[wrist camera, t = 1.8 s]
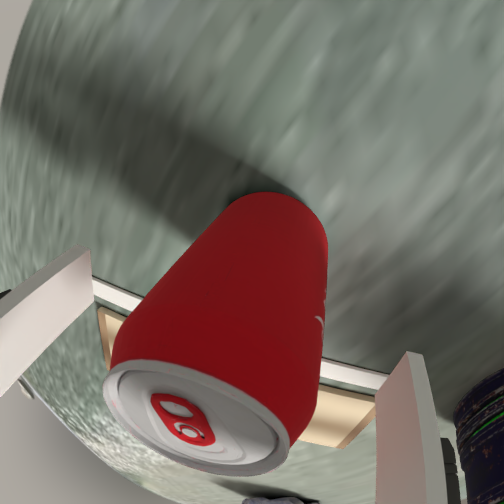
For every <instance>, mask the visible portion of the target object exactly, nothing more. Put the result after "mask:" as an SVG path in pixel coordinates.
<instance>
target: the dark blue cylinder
mask: <svg viewBox="0 0 504 504" xmlns="http://www.w3.org/2000/svg"><path fill="white" fill-rule="evenodd" d="M453 419H454V425H455V427H456V436H457V440H456V442H457V449H458V454H459V455H460V463H461V468H462V470H463V471H464V472H465V481H466V491H467V502H468V504H504V368H503V369H501V370H499V371H497V372H495V373H494V374H492V375H490V376H489V377H487V378H486V379H484V380H483V381H481V382H480V383H479V384H477V385H476V386H475V387H474V388H472V389H471V390H470V391H469V392H468V393H467V394H466V395H465V396H464V397H463V398H462V400H461V401H460V402H459V404H458V405H457V407H456V409H455V411H454V415H453Z"/></svg>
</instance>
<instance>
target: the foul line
mask: <svg viewBox="0 0 504 504" xmlns="http://www.w3.org/2000/svg"><path fill="white" fill-rule="evenodd" d="M92 284H93V294H94V295H96V296H98V297H101V298H103V299H105V300H107V301H109V302H112V303H114V304H116V305H118V306H121V307H123V308H125V309H127V310H130V311H133V310H134V309H135V308H136V307H137V305H138V304H139V303H140V302H141V301H142V300H143V299H144V298H142V297H140V296H137V295H135V294H132V293H130V292H127V291H125V290H123V289H120V288H118V287H115V286H113V285H111V284H108V283H106V282H104V281H101V280H99V279H97V278H95V277H92ZM320 376H322V377H326V378H330V379H334V380H338V381H342V382H346V383H350V384H355V385H359V386H364V387H368V388H373V389H377V390H379V389H380V387H381V386H382V385H383V383H384V382H385V381H386V379H387V378H388V377H389V375H388V374H384V373H379V372H375V371H371V370H367V369H362V368H358V367H354V366H350V365H346V364H342V363H339V362H335V361H331V360H327V359H324V358H322V359H321V369H320Z"/></svg>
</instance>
